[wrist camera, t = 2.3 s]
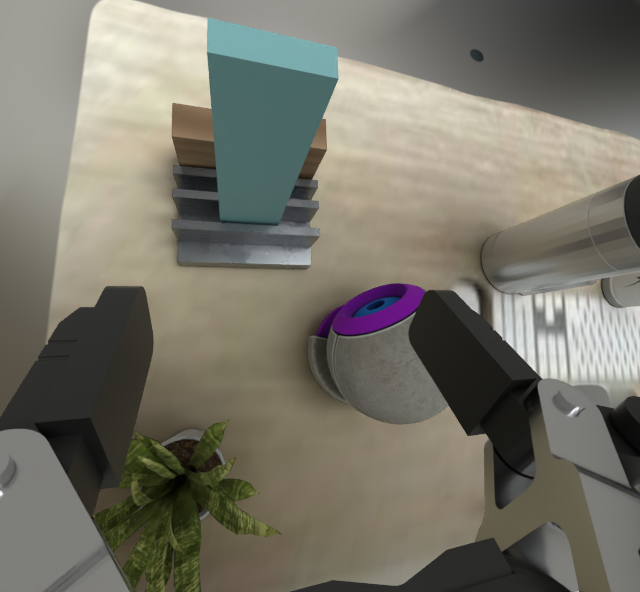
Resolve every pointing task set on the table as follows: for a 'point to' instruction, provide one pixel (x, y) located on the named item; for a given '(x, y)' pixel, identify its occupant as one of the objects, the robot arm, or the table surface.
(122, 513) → the house plant
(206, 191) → the rack
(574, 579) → the robot arm
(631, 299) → the travel mug
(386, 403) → the webcam
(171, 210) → the table surface
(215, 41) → the tall sheet
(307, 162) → the offcut stack
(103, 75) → the table surface
